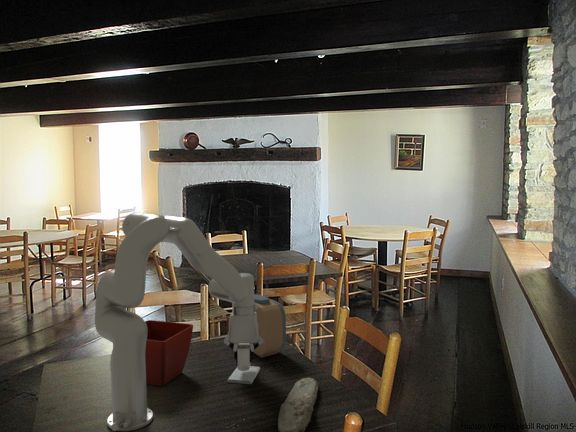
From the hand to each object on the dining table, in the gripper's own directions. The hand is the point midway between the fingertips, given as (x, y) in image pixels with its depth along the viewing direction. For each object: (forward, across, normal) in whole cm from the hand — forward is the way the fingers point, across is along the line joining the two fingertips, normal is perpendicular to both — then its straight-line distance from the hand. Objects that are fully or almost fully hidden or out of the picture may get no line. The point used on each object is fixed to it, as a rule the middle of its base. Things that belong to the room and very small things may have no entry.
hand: (244, 360), depth 177 cm
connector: (+1, 0, 0) cm, 1 cm away
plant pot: (+5, +30, +1) cm, 30 cm away
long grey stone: (+6, -19, +24) cm, 31 cm away
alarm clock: (+5, -5, -23) cm, 24 cm away
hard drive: (+6, 0, 0) cm, 6 cm away
